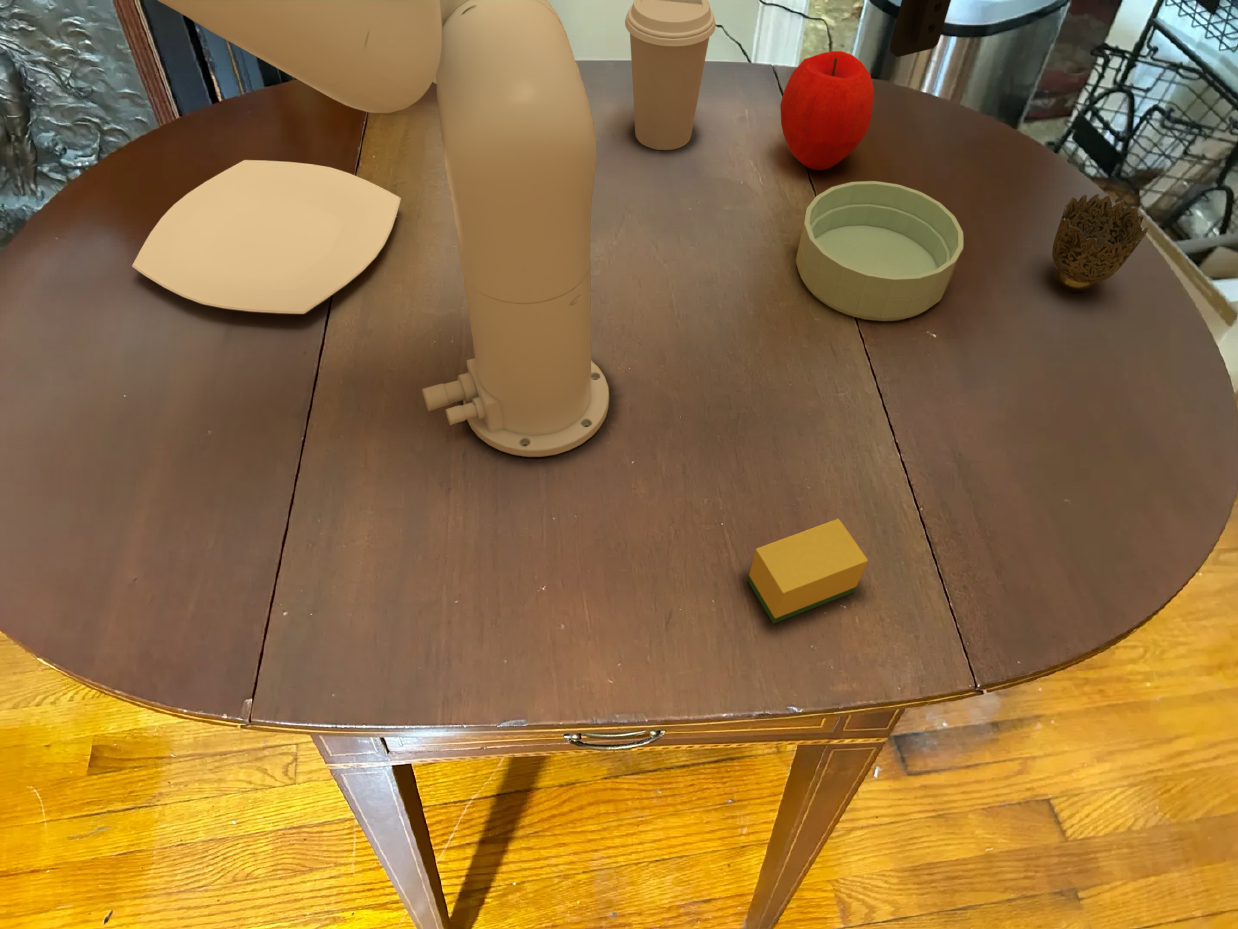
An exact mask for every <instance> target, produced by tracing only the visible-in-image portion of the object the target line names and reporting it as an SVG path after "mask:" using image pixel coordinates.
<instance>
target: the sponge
mask: <svg viewBox="0 0 1238 929" xmlns="http://www.w3.org/2000/svg"><path fill="white" fill-rule="evenodd" d="M868 562H869V561H868V558H867V556H866V555H865V553H864V552H863V550H862V549H861V548H860V546H859V545H858V544H857V543H856V541H855V539H854V538H853V537H852V535H851V533H850V532H849V530H847V528H846V526H845V525H844V524H843V522H842V521H841V520H840V518H835V519H832V520H830V521H828V522H825V523H822V524H819V525H817V526H814V527H811V528H808V529H806V530H802V531H801V532H797V533H795V534H792V535H789V536H786V537H784V538H781V539H778V540H776V541H773V542H770V543H767V544H765V545H762V546H759V547H757V548H755V550H754V555H753V559H752V562H751V566H750V570H749V574H748V578H747V582H748V584H749V586H750V588H751V589H752V591H753V592H754V594H755V596H756V597H757V599H758V601H759V603H760V605H761V606H762V608H763V610H764V611H765V613H766V615H767V616H768V618H769V619H770V621H771V623H772V625H774V624H778V623H779V622H782V621H785V620H788V619H790V618H792V617H795V616H797V615H800V614H803V613H805V612H808V611H810V610H812V609H815V608H819V607H821V606H823V605H826V604H828V603H830V602H833V601H835V600H839V599H840V598H843V597H846V596H849V595H851V594H853V593H855V592H856V589H857V587H858V584H859V582H860V580H861V578H862V575H863V573H864V571H865V568H866V566H867V564H868Z"/></svg>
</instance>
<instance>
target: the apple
mask: <svg viewBox="0 0 1238 929" xmlns="http://www.w3.org/2000/svg"><path fill="white" fill-rule="evenodd" d="M874 99H875V90H874V85H873V80H872V76H871V73H870V72H869V70H868V69H867V67H866V66H865V64H864V63H863V62H862V61H861V60H860V59H858V58H857V57H856V56H855V55H853V54H850V53H848V52H845V51H843V50H833V51H832V50H831V51H827V52H822V53H818V54H816V55H813V56H810V57H806V58H804V59H803V60H802V61H801V63H799V65H797V67H796V68H795V69H794V70H793V71H792V72H791V74H790V76H789V79H788V81H787V83H786V85H785V88H784V90H783V92H782V98H781V101H780V105H779V106H780V124H781V130H782V134H783V137H784V140H785V142H786V144H787V147H788V149H789V150H790V152H791V154H792V155H793V156H794V158H795V159H796V160H797V161H798V162H799V163H800V164H802V165H803V166H805V167H806V168H808V169H809V170H810V169H811V170H813V171H824V170H829V169H831V168H833V167H834V166H836V165H837V164H839V163H840V162H841V161H842V160H844V159H845V158H847V157H848V156H849V155H850V154H851V153H852V152H853V151H854V150H855V149H856V148H857V147H858V146H859V144H860V143H861V141H862V140H863V138H864V137H865V135H866V134H867V132H868V129H869V127H870V124H871V121H872V115H873V106H874Z"/></svg>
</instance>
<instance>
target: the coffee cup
mask: <svg viewBox="0 0 1238 929" xmlns="http://www.w3.org/2000/svg"><path fill="white" fill-rule="evenodd" d="M624 26H625V28H626V30H627V31H628V33H629V43H630V59H631V78H632V96H633V113H634V114H633V116H634V130H635V131H634V134H635V139H636V140H637V141H638V142H639V143H640V144H641V145H643V146H645V147H647V148H649V149H653V150H657V151H672V150H678V149H680V148H682V147H684V146H686V145H687V144H688V143H689V142H690V141H691V138H692V132H693V127H694V122H695V116H696V111H697V106H698V100H699V95H700V90H701V89H700V88H701V84H702V79H703V73H704V68H705V63H706V56H707V53H708V52H707V51H708V48H709V47H708V46H709V42H710V37H711V36H712V35H713V34H714V33H715V31H716V26H717V25H716V19H715V16H714V12H713V10H712V9H711V5H710V2H709V0H633V3H632V4H631V6H630V7H629V9H628V11H627V14H626V16H625V19H624Z"/></svg>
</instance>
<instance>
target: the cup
mask: <svg viewBox="0 0 1238 929" xmlns="http://www.w3.org/2000/svg"><path fill="white" fill-rule="evenodd" d="M1124 203H1125V201H1124V199H1121V200H1119V201H1117V202H1116V203H1115V204H1114V205H1113V201H1112V200H1111V197H1110V195H1105V196H1104V197H1103V198H1101V196H1100V194H1099V193H1097V194H1094V195H1093V196H1092V197H1090V198H1089V199H1088V194H1083V195H1081V197H1080V198H1079V200H1077V199H1076V197H1074V196H1073V197H1071V199H1070V200H1069V201H1068V202H1067V203H1066V204H1065V205H1064V209H1063V213H1062V216H1061V219H1060V221H1059V224H1058V228H1057V231H1056V233H1055V238H1054V240H1053V244H1052V251H1051V254H1052V255H1051V257H1052V262H1053V265H1054V266H1055V268H1056V270H1055V273H1054V274H1055V282H1056V283H1057V284H1058V286H1059V287H1060V288H1062V289H1063V290H1066V291H1069V292H1070V293H1071V292H1072V293H1084V292H1086V291H1088V290H1090V289H1091V288H1092V287H1093V286H1094V285H1095V283H1099V282H1103V281H1105V280H1107V279H1109V278H1110V277H1112V276H1113V275H1115V274H1116V273H1117V272H1118V271H1119V270H1120V268H1121V267H1122V266H1123V265H1124V264H1125V263H1126V261H1127V260H1128V259H1129V258H1130V256H1132V254H1133V252H1134V251H1135V250H1136V248H1137V247H1138V246H1139V244H1140V243H1141V242H1142V240H1143V239H1144V238H1145V237H1146V234H1147V233H1148V231H1149V227H1144V228H1143V227H1142V226H1141V225H1142V222H1143V220H1144V215H1139V208H1138V207H1137V206H1128V207H1124V205H1125V204H1124Z"/></svg>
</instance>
